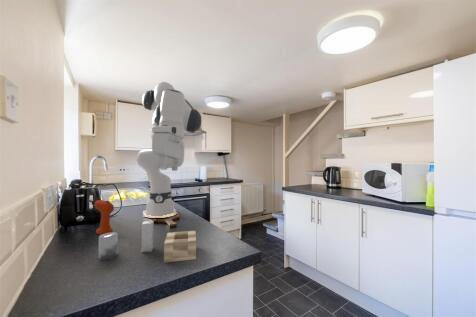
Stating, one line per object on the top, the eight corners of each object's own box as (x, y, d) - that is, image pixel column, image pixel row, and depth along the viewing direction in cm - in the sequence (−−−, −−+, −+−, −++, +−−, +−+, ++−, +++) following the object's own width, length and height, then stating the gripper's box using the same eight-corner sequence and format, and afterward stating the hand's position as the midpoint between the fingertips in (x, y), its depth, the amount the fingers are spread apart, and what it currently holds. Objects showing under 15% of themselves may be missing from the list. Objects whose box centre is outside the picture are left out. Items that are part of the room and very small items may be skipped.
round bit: (102, 253, 70) (102, 233, 70) (120, 251, 71) (120, 231, 72) (95, 260, 65) (95, 239, 65) (114, 259, 66) (114, 237, 66)
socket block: (167, 249, 73) (167, 232, 74) (195, 246, 76) (195, 230, 76) (164, 262, 64) (164, 243, 64) (196, 259, 66) (196, 240, 66)
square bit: (143, 248, 74) (143, 221, 74) (153, 247, 75) (153, 220, 75) (141, 252, 71) (141, 224, 71) (151, 251, 72) (151, 223, 72)
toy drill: (91, 223, 99) (93, 193, 98) (115, 234, 91) (118, 201, 90) (79, 226, 94) (82, 194, 94) (104, 237, 86) (107, 203, 86)
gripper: (174, 138, 84) (172, 170, 83) (149, 125, 64) (146, 168, 63) (188, 138, 84) (187, 171, 83) (168, 125, 64) (165, 169, 62)
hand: (169, 170), depth 73 cm, fingers open, 8 cm apart
